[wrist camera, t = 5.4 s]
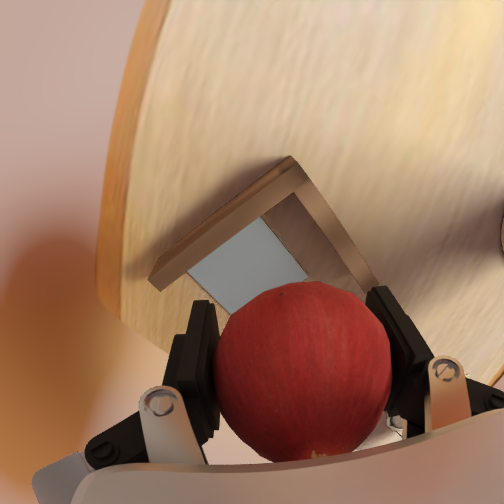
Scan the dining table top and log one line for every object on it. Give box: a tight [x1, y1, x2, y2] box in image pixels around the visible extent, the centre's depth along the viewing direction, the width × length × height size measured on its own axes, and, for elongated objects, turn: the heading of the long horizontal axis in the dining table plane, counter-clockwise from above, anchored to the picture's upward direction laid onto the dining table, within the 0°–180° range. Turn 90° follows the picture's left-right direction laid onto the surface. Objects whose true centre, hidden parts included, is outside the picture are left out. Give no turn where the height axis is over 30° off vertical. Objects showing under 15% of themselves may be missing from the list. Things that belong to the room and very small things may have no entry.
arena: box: [148, 156, 379, 293], centre depth 28 cm, size 14×16×4 cm
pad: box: [187, 217, 308, 315], centre depth 30 cm, size 9×9×1 cm
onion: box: [212, 281, 393, 463], centre depth 9 cm, size 6×6×8 cm
